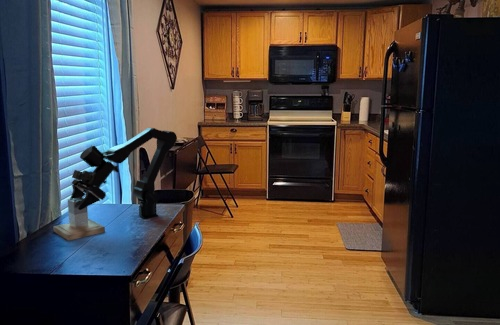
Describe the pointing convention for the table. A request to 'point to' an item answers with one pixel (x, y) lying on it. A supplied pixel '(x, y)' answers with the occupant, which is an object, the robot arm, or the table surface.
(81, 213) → the plate
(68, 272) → the table surface
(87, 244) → the table surface
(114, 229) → the table surface
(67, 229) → the stand
